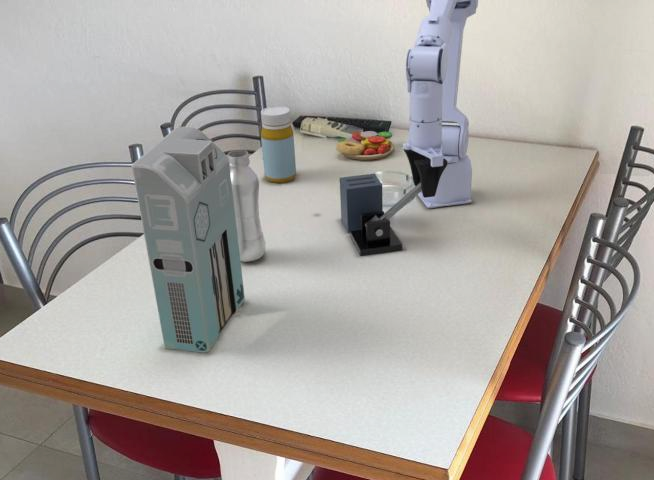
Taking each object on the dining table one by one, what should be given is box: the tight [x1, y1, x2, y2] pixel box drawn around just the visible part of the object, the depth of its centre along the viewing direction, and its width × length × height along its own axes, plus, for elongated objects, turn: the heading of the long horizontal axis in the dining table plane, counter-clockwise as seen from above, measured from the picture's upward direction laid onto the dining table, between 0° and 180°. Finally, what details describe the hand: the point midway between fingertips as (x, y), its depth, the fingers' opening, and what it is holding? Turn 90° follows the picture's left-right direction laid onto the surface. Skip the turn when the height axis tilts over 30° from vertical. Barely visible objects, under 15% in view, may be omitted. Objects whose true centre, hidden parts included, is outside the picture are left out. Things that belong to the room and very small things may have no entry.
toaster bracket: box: [349, 210, 403, 257], centre depth 162 cm, size 8×8×5 cm
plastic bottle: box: [227, 149, 266, 263], centre depth 155 cm, size 6×7×20 cm
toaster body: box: [339, 173, 384, 234], centre depth 168 cm, size 7×6×9 cm
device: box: [131, 125, 246, 354], centre depth 133 cm, size 16×8×30 cm, turn 165°
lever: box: [365, 176, 422, 226], centre depth 160 cm, size 14×5×2 cm
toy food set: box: [335, 130, 395, 161], centre depth 203 cm, size 13×13×3 cm
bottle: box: [260, 105, 297, 184], centre depth 188 cm, size 7×7×15 cm
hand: (424, 190), depth 160 cm, fingers closed on lever, 5 cm apart
